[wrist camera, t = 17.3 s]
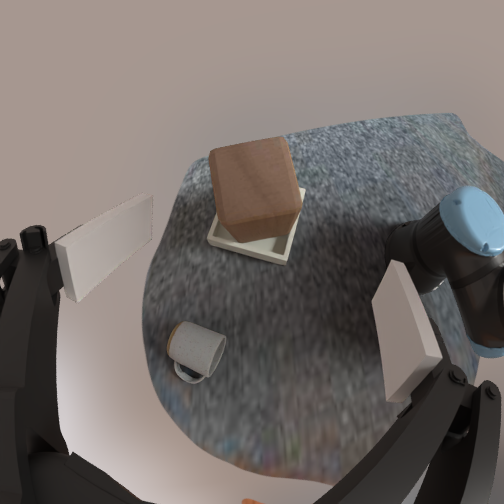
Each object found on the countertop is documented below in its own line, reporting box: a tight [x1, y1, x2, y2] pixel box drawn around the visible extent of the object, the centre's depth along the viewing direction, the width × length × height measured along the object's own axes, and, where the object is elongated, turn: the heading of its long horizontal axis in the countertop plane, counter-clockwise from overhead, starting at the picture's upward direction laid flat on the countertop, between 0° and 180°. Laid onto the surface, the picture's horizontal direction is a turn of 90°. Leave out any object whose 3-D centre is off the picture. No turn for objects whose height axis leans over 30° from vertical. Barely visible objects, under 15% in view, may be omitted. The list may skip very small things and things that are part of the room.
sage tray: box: [207, 188, 306, 266], centre depth 51 cm, size 15×15×4 cm
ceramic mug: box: [167, 321, 226, 384], centre depth 42 cm, size 11×8×8 cm
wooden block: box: [209, 137, 302, 243], centre depth 41 cm, size 10×10×20 cm
